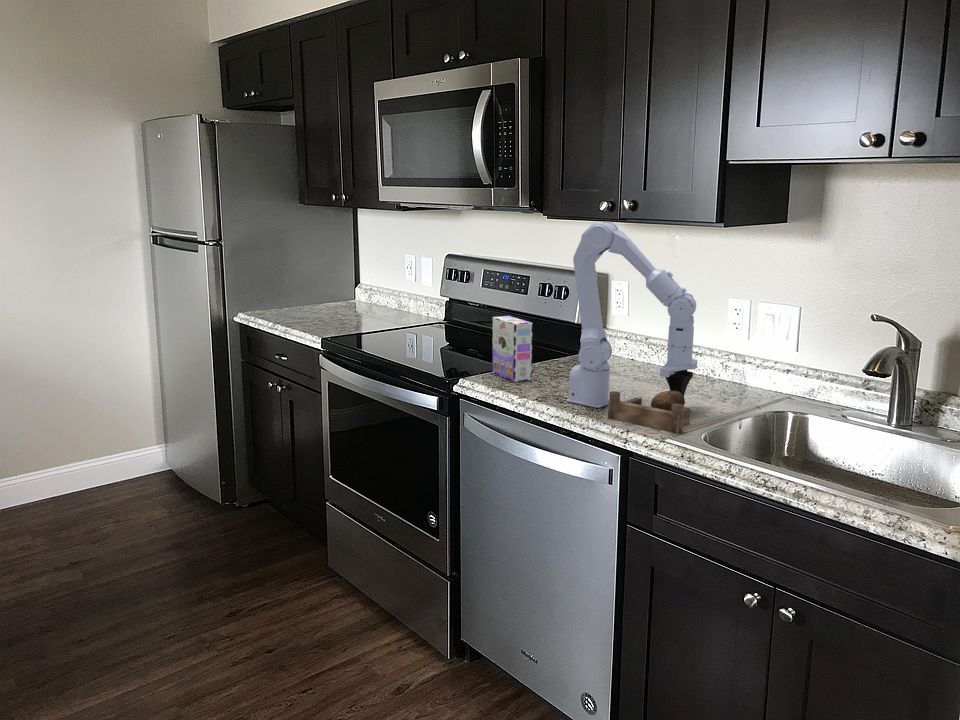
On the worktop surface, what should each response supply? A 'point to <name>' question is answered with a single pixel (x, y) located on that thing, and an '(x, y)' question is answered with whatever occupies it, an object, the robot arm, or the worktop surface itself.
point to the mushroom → (667, 400)
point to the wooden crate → (647, 414)
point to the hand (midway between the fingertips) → (677, 401)
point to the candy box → (512, 348)
